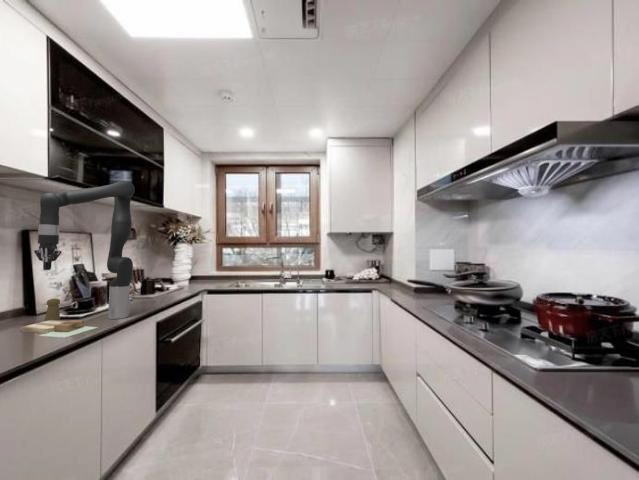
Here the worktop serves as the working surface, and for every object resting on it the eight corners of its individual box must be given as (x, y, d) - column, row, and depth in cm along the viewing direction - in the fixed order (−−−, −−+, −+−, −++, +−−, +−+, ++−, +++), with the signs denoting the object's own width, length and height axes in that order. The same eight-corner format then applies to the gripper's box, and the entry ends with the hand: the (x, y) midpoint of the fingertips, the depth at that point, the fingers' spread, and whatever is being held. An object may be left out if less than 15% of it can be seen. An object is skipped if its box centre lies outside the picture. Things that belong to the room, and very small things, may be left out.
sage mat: (74, 326, 140) (74, 325, 140) (97, 327, 139) (97, 327, 139) (38, 336, 124) (38, 335, 124) (64, 338, 123) (64, 337, 123)
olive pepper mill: (63, 319, 152) (64, 298, 153) (51, 322, 146) (52, 300, 147) (53, 318, 153) (54, 297, 153) (41, 321, 147) (42, 299, 147)
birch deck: (50, 324, 143) (50, 320, 143) (75, 325, 141) (75, 321, 141) (20, 331, 130) (20, 327, 130) (47, 333, 128) (47, 329, 128)
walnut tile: (71, 326, 138) (71, 320, 138) (83, 326, 138) (84, 320, 138) (53, 332, 129) (54, 325, 129) (67, 332, 129) (67, 325, 129)
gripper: (68, 234, 144) (66, 269, 144) (45, 234, 146) (43, 268, 145) (52, 234, 137) (50, 270, 136) (28, 233, 138) (26, 269, 138)
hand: (47, 269), depth 141 cm, fingers closed
